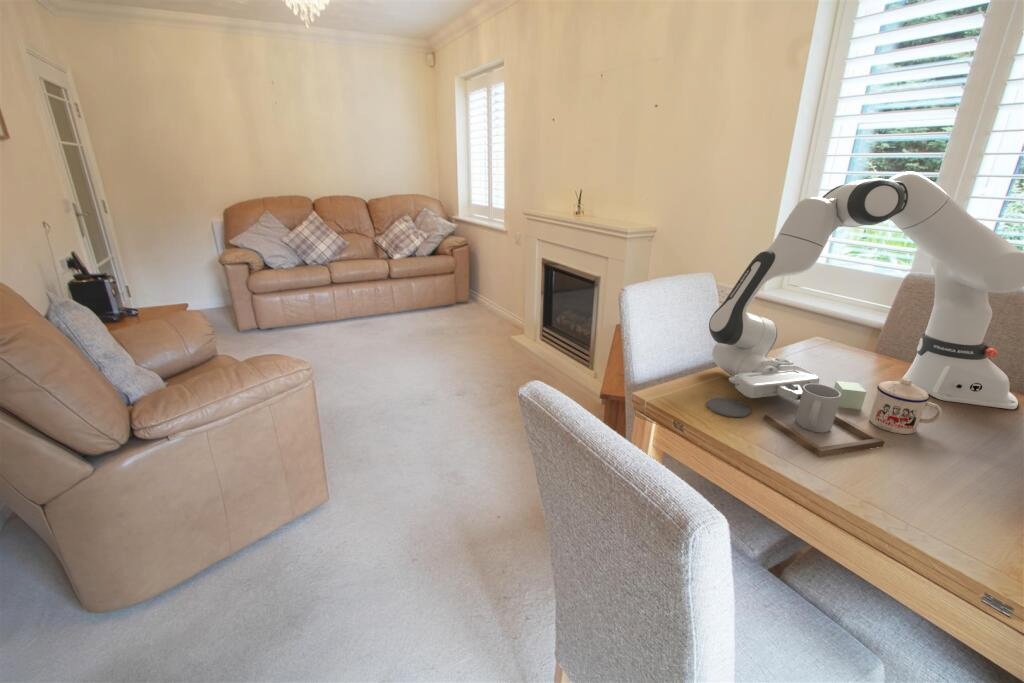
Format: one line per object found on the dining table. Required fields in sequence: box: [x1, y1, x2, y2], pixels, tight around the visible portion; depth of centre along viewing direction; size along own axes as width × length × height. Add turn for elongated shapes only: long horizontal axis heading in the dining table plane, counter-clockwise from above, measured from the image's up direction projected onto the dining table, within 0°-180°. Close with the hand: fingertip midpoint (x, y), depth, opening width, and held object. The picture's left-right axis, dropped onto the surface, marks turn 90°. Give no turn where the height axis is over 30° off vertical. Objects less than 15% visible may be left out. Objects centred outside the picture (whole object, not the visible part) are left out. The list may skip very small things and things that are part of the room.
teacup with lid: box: [868, 377, 943, 435], centre depth 104 cm, size 12×9×12 cm
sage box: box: [833, 380, 867, 410], centre depth 115 cm, size 5×5×5 cm
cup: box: [795, 383, 841, 434], centre depth 104 cm, size 7×10×9 cm
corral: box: [763, 413, 886, 458], centre depth 103 cm, size 16×16×2 cm
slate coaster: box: [706, 397, 752, 418], centre depth 114 cm, size 10×10×1 cm
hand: (801, 397), depth 108 cm, fingers closed
